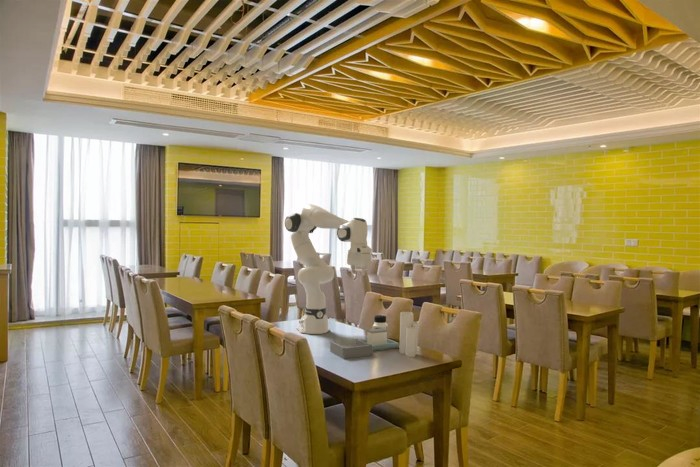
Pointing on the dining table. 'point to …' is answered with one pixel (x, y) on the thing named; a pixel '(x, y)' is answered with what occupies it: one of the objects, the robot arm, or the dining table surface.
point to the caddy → (377, 336)
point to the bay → (351, 349)
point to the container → (380, 322)
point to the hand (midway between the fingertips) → (358, 274)
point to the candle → (408, 334)
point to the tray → (384, 345)
